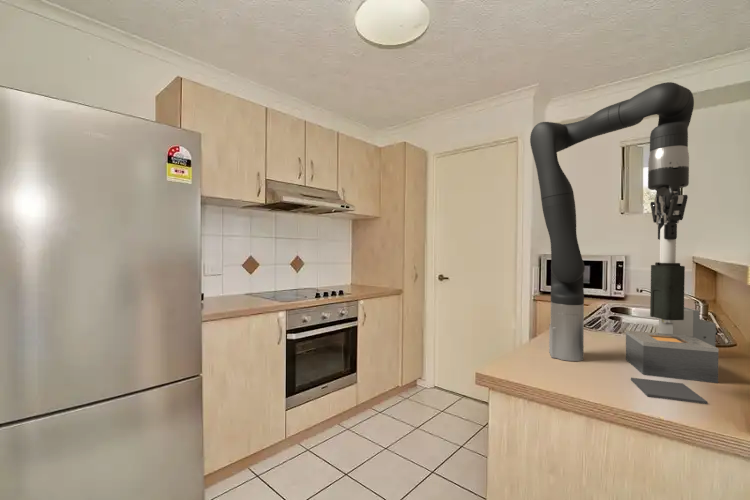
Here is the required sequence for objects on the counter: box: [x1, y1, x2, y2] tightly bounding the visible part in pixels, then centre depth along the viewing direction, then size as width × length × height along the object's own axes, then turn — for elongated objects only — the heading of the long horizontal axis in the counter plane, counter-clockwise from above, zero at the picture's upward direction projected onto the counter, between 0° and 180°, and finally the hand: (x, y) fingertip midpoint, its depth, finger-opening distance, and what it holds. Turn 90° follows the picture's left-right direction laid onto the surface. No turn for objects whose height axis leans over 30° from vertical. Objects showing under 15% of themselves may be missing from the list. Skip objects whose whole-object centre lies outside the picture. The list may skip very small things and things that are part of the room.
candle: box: [649, 223, 686, 320], centre depth 83 cm, size 5×5×25 cm
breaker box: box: [625, 330, 719, 384], centre depth 98 cm, size 16×14×9 cm
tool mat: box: [630, 377, 708, 405], centre depth 83 cm, size 11×11×1 cm
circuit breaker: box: [655, 306, 718, 347], centre depth 113 cm, size 8×14×15 cm, turn 78°
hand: (667, 239), depth 83 cm, fingers closed on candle, 3 cm apart
